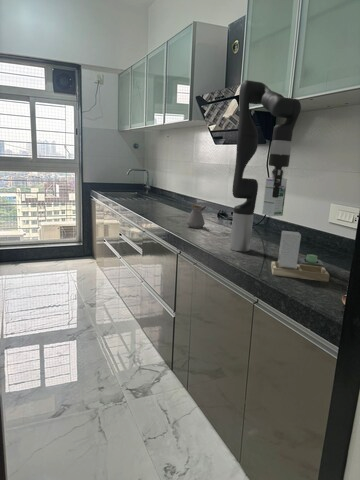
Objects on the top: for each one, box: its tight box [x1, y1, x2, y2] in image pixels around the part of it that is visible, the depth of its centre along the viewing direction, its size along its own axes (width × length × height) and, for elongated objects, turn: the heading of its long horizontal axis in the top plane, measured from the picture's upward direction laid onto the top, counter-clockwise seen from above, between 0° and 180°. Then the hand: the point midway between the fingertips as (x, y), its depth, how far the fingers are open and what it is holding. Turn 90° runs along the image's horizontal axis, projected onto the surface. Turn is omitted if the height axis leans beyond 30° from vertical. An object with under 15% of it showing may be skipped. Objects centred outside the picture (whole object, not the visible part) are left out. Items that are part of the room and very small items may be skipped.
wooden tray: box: [270, 260, 330, 282], centre depth 129 cm, size 10×19×4 cm, turn 79°
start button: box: [305, 253, 318, 263], centre depth 139 cm, size 4×4×4 cm
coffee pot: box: [185, 205, 208, 229], centre depth 212 cm, size 21×12×15 cm, turn 16°
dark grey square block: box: [297, 256, 325, 268], centre depth 139 cm, size 8×8×4 cm
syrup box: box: [261, 177, 288, 217], centre depth 137 cm, size 6×6×14 cm
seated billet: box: [277, 230, 302, 270], centre depth 129 cm, size 6×6×15 cm
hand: (274, 196), depth 137 cm, fingers closed on syrup box, 8 cm apart
